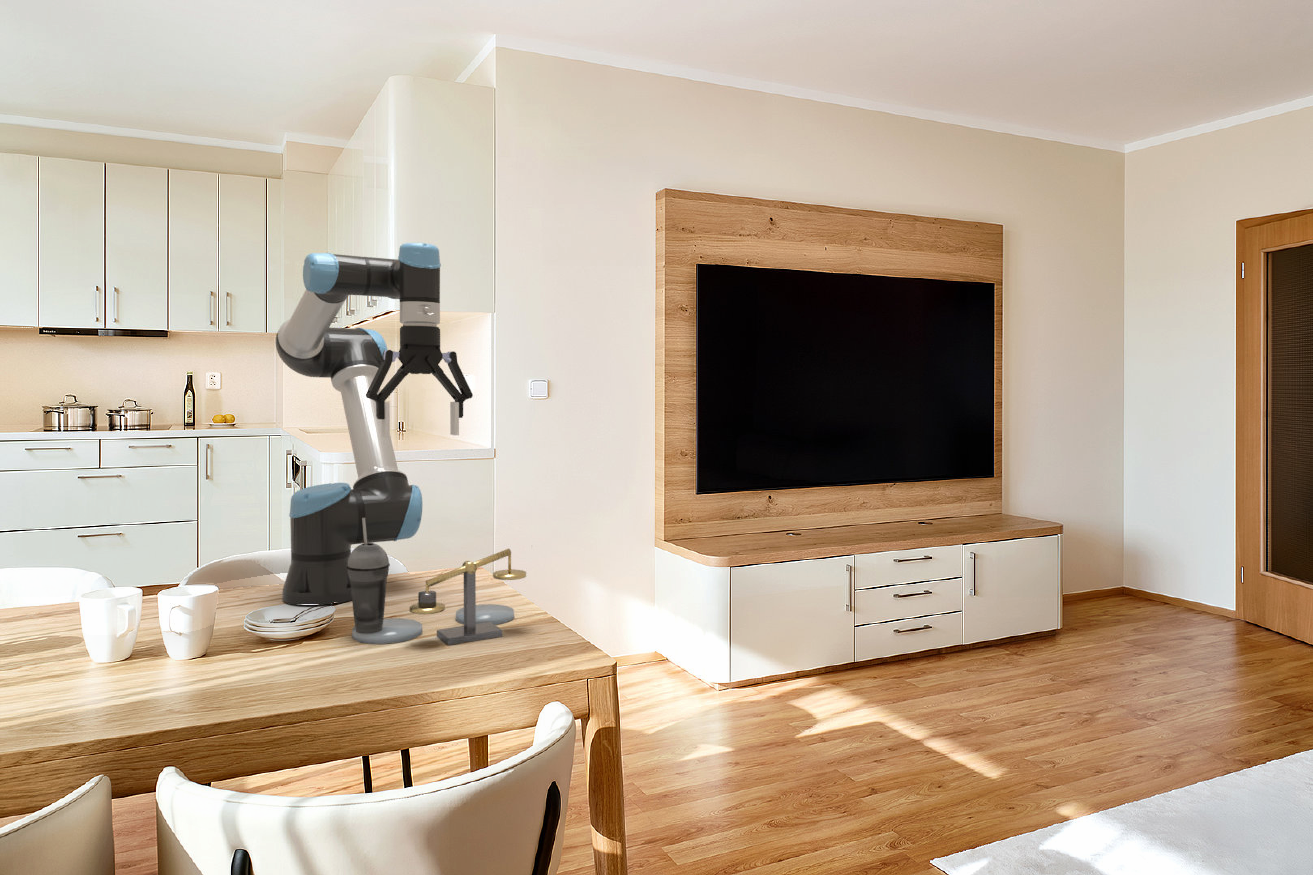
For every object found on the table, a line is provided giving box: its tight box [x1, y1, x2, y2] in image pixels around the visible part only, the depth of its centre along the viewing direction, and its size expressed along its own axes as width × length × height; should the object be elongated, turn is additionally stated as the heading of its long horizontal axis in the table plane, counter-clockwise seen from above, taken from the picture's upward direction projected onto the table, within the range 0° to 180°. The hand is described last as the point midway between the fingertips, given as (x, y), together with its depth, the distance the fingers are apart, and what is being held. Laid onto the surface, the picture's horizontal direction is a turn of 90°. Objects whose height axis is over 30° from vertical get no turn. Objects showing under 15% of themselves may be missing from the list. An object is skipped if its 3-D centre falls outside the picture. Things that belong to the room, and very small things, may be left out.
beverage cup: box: [347, 518, 391, 634], centre depth 156 cm, size 7×7×20 cm
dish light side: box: [455, 603, 515, 626], centre depth 170 cm, size 11×11×1 cm
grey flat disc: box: [351, 617, 423, 645], centre depth 159 cm, size 12×12×1 cm
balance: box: [409, 548, 527, 646], centre depth 157 cm, size 6×21×15 cm, turn 123°
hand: (420, 436), depth 171 cm, fingers open, 13 cm apart
